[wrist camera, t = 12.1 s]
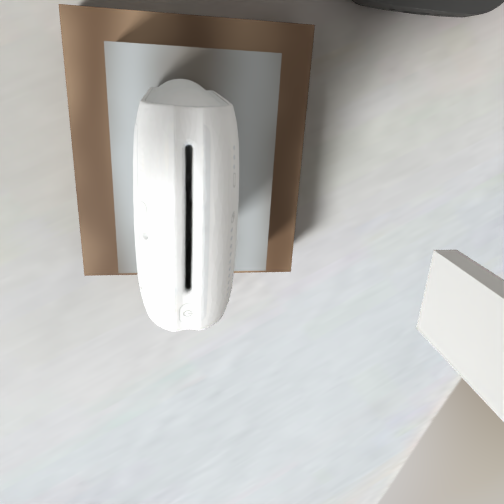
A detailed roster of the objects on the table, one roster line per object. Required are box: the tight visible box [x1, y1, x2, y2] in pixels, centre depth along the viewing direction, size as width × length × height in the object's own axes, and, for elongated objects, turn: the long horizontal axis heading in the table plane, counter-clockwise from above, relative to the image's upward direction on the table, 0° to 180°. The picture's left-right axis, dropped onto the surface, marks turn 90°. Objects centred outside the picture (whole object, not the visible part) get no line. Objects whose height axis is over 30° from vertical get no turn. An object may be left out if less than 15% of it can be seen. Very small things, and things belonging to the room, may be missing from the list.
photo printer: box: [133, 79, 239, 332], centre depth 22 cm, size 10×4×12 cm, turn 176°
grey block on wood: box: [59, 4, 315, 276], centre depth 31 cm, size 16×18×8 cm
